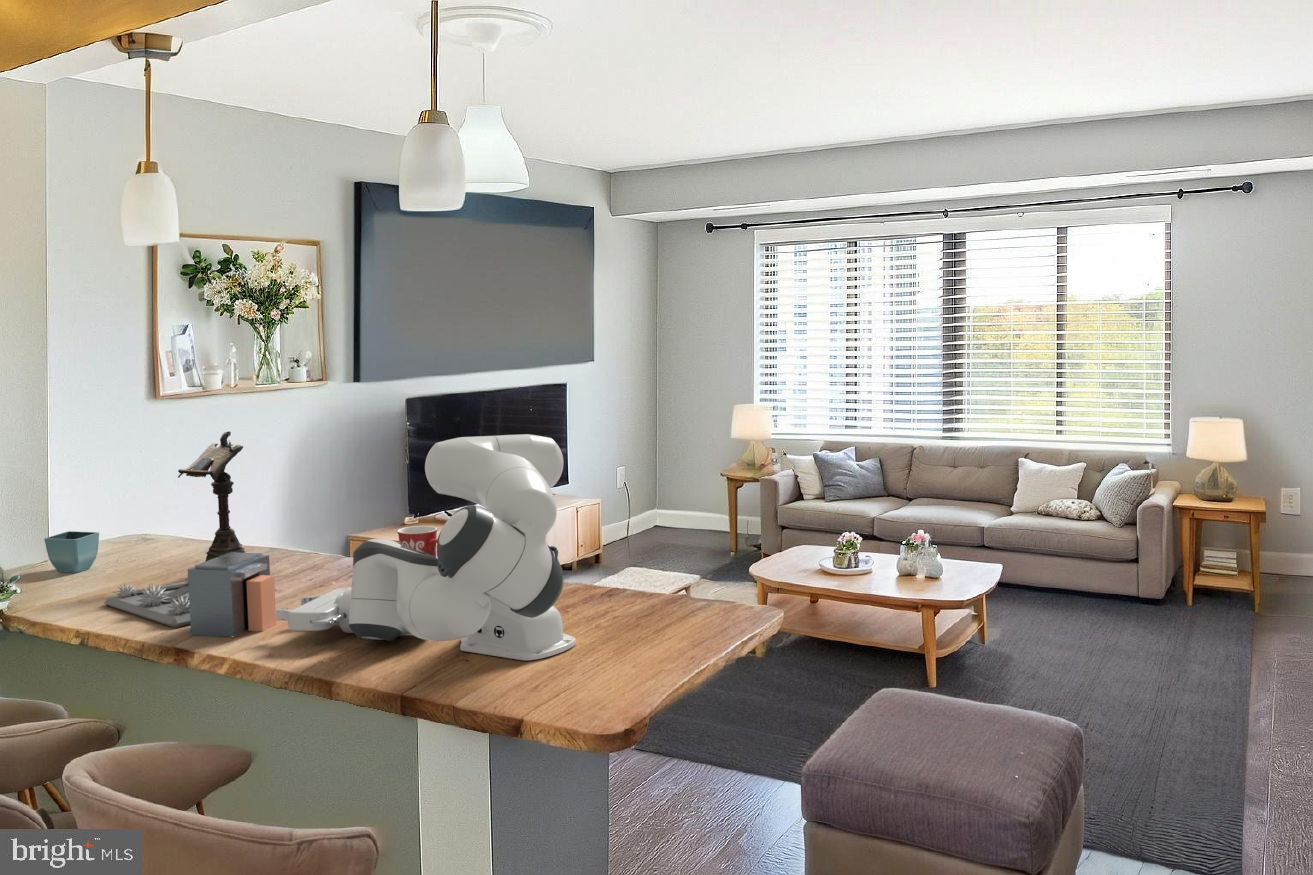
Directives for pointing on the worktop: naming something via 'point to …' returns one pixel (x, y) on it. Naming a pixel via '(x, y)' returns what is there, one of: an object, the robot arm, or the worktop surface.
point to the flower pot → (72, 550)
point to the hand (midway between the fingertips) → (290, 607)
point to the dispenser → (223, 593)
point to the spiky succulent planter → (155, 603)
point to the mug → (419, 538)
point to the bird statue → (218, 492)
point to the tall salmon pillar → (261, 603)
